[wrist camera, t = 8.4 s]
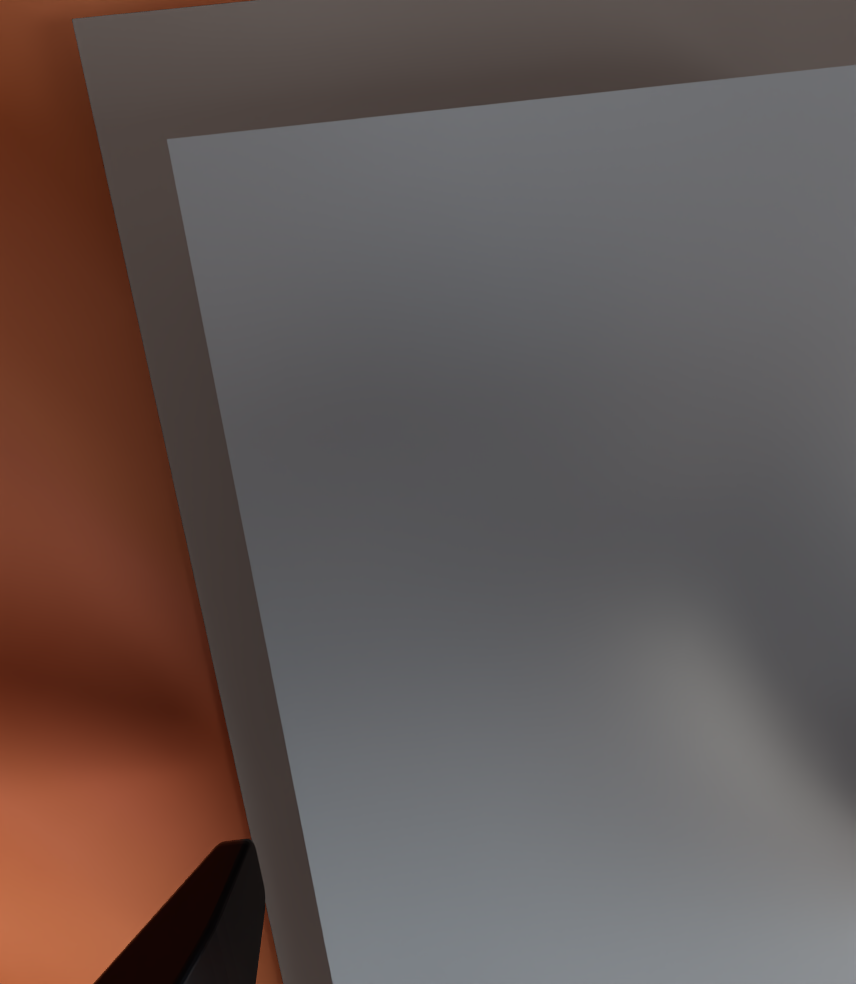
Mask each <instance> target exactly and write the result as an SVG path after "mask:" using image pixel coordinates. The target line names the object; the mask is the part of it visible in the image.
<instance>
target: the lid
mask: <svg viewBox="0 0 856 984" xmlns="http://www.w3.org/2000/svg"><path fill="white" fill-rule="evenodd" d="M167 143H168V148H169V153H170V158H171V163H172V169H173V174H174V179H175V184H176V189H177V194H178V199H179V204H180V209H181V214H182V219H183V224H184V230H185V235H186V240H187V245H188V250H189V255H190V260H191V265H192V270H193V275H194V280H195V286H196V291H197V296H198V301H199V306H200V311H201V316H202V321H203V326H204V331H205V336H206V341H207V347H208V352H209V357H210V362H211V367H212V372H213V377H214V382H215V387H216V392H217V397H218V403H219V408H220V413H221V418H222V423H223V428H224V433H225V438H226V443H227V448H228V453H229V458H230V464H231V469H232V474H233V479H234V484H235V489H236V494H237V499H238V504H239V509H240V514H241V520H242V525H243V530H244V535H245V540H246V545H247V550H248V555H249V560H250V565H251V570H252V576H253V581H254V586H255V591H256V596H257V601H258V606H259V611H260V616H261V621H262V626H263V631H264V637H265V642H266V647H267V652H268V657H269V662H270V667H271V672H272V677H273V682H274V687H275V693H276V698H277V703H278V708H279V713H280V718H281V723H282V728H283V733H284V738H285V743H286V748H287V754H288V759H289V764H290V769H291V774H292V779H293V784H294V789H295V794H296V799H297V804H298V810H299V815H300V820H301V825H302V830H303V835H304V840H305V845H306V850H307V855H308V860H309V865H310V871H311V876H312V881H313V886H314V891H315V896H316V901H317V906H318V911H319V916H320V921H321V927H322V932H323V937H324V942H325V947H326V952H327V957H328V962H329V967H330V972H331V977H332V982H333V984H856V65H849V66H840V67H831V68H822V69H812V70H803V71H794V72H785V73H775V74H766V75H757V76H748V77H738V78H729V79H720V80H711V81H701V82H692V83H683V84H674V85H664V86H655V87H646V88H637V89H627V90H618V91H609V92H600V93H590V94H581V95H572V96H563V97H554V98H544V99H535V100H526V101H517V102H507V103H498V104H489V105H480V106H470V107H461V108H452V109H443V110H433V111H424V112H415V113H406V114H396V115H387V116H378V117H369V118H359V119H350V120H341V121H332V122H322V123H313V124H304V125H295V126H285V127H276V128H267V129H258V130H248V131H239V132H230V133H221V134H211V135H202V136H193V137H184V138H174V139H167Z"/></svg>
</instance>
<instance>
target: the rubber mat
mask: <svg viewBox="0 0 856 984" xmlns="http://www.w3.org/2000/svg"><path fill="white" fill-rule="evenodd" d="M72 22H73V27H74V31H75V36H76V40H77V45H78V49H79V54H80V58H81V63H82V68H83V72H84V77H85V81H86V86H87V90H88V95H89V100H90V104H91V109H92V113H93V118H94V122H95V127H96V131H97V136H98V141H99V145H100V150H101V154H102V159H103V163H104V168H105V173H106V177H107V182H108V186H109V191H110V195H111V200H112V204H113V209H114V214H115V218H116V223H117V227H118V232H119V236H120V241H121V246H122V250H123V255H124V259H125V264H126V268H127V273H128V277H129V282H130V287H131V291H132V296H133V300H134V305H135V309H136V314H137V319H138V323H139V328H140V332H141V337H142V341H143V346H144V350H145V355H146V360H147V364H148V369H149V373H150V378H151V382H152V387H153V392H154V396H155V401H156V405H157V410H158V414H159V419H160V423H161V428H162V433H163V437H164V442H165V446H166V451H167V455H168V460H169V465H170V469H171V474H172V478H173V483H174V487H175V492H176V496H177V501H178V506H179V510H180V515H181V519H182V524H183V528H184V533H185V538H186V542H187V547H188V551H189V556H190V560H191V565H192V569H193V574H194V579H195V583H196V588H197V592H198V597H199V601H200V606H201V611H202V615H203V620H204V624H205V629H206V633H207V638H208V642H209V647H210V652H211V656H212V661H213V665H214V670H215V674H216V679H217V684H218V688H219V693H220V697H221V702H222V706H223V711H224V715H225V720H226V725H227V729H228V734H229V738H230V743H231V747H232V752H233V757H234V761H235V766H236V770H237V775H238V779H239V784H240V788H241V793H242V798H243V802H244V807H245V811H246V816H247V820H248V825H249V830H250V834H251V839H252V841H253V843H254V845H255V847H256V851H257V856H258V860H259V865H260V869H261V874H262V878H263V883H264V888H265V903H266V907H267V912H268V916H269V921H270V925H271V930H272V934H273V939H274V944H275V948H276V953H277V957H278V962H279V966H280V971H281V976H282V980H283V984H333V982H332V977H331V972H330V967H329V962H328V957H327V952H326V947H325V942H324V937H323V932H322V927H321V921H320V916H319V911H318V906H317V901H316V896H315V891H314V886H313V881H312V876H311V871H310V865H309V860H308V855H307V850H306V845H305V840H304V835H303V830H302V825H301V820H300V815H299V810H298V804H297V799H296V794H295V789H294V784H293V779H292V774H291V769H290V764H289V759H288V754H287V748H286V743H285V738H284V733H283V728H282V723H281V718H280V713H279V708H278V703H277V698H276V693H275V687H274V682H273V677H272V672H271V667H270V662H269V657H268V652H267V647H266V642H265V637H264V631H263V626H262V621H261V616H260V611H259V606H258V601H257V596H256V591H255V586H254V581H253V576H252V570H251V565H250V560H249V555H248V550H247V545H246V540H245V535H244V530H243V525H242V520H241V514H240V509H239V504H238V499H237V494H236V489H235V484H234V479H233V474H232V469H231V464H230V458H229V453H228V448H227V443H226V438H225V433H224V428H223V423H222V418H221V413H220V408H219V403H218V397H217V392H216V387H215V382H214V377H213V372H212V367H211V362H210V357H209V352H208V347H207V341H206V336H205V331H204V326H203V321H202V316H201V311H200V306H199V301H198V296H197V291H196V286H195V280H194V275H193V270H192V265H191V260H190V255H189V250H188V245H187V240H186V235H185V230H184V224H183V219H182V214H181V209H180V204H179V199H178V194H177V189H176V184H175V179H174V174H173V169H172V163H171V158H170V153H169V148H168V143H167V139H174V138H184V137H193V136H202V135H211V134H221V133H230V132H239V131H248V130H258V129H267V128H276V127H285V126H295V125H304V124H313V123H322V122H332V121H341V120H350V119H359V118H369V117H378V116H387V115H396V114H406V113H415V112H424V111H433V110H443V109H452V108H461V107H470V106H480V105H489V104H498V103H507V102H517V101H526V100H535V99H544V98H554V97H563V96H572V95H581V94H590V93H600V92H609V91H618V90H627V89H637V88H646V87H655V86H664V85H674V84H683V83H692V82H701V81H711V80H720V79H729V78H738V77H748V76H757V75H766V74H775V73H785V72H794V71H803V70H812V69H822V68H831V67H840V66H849V65H856V0H254V1H244V2H234V3H224V4H214V5H204V6H194V7H185V8H175V9H165V10H155V11H145V12H135V13H125V14H115V15H105V16H96V17H86V18H76V19H72Z"/></svg>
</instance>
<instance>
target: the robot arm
mask: <svg viewBox="0 0 856 984" xmlns="http://www.w3.org/2000/svg"><path fill="white" fill-rule="evenodd" d="M264 913H265V888H264V883H263V878H262V874H261V869H260V865H259V860H258V856H257V851H256V847H255V845H254V843H253V841H252V840H250V839H240V840H232V841H224V842H221V843H220V844H218V845H217V846H216V847H215V848H214V849H213V850H212V851H211V852H210V854H209V855H208V856H207V857H206V858H205V859H204V860H203V861H202V863H201V864H200V865H199V866H198V867H197V868H196V869H195V870H194V872H193V873H192V874H191V875H190V876H189V877H188V878H187V879H186V880H185V882H184V883H183V884H182V885H181V886H180V887H179V888H178V889H177V891H176V892H175V893H174V894H173V895H172V896H171V897H170V898H169V900H168V901H167V902H166V903H165V904H164V905H163V906H162V907H161V909H160V910H159V911H158V912H157V913H156V914H155V915H154V916H153V917H152V919H151V920H150V921H149V922H148V923H147V924H146V925H145V926H144V928H143V929H142V930H141V931H140V932H139V933H138V934H137V935H136V937H135V938H134V939H133V940H132V941H131V942H130V943H129V944H128V945H127V947H126V948H125V949H124V950H123V951H122V952H121V953H120V954H119V956H118V957H117V958H116V959H115V960H114V961H113V962H112V963H111V965H110V966H109V967H108V968H107V969H106V970H105V971H104V972H103V974H102V975H101V976H100V977H99V978H98V979H97V980H96V981H95V982H94V984H256V976H257V968H258V960H259V952H260V944H261V937H262V929H263V921H264Z"/></svg>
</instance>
